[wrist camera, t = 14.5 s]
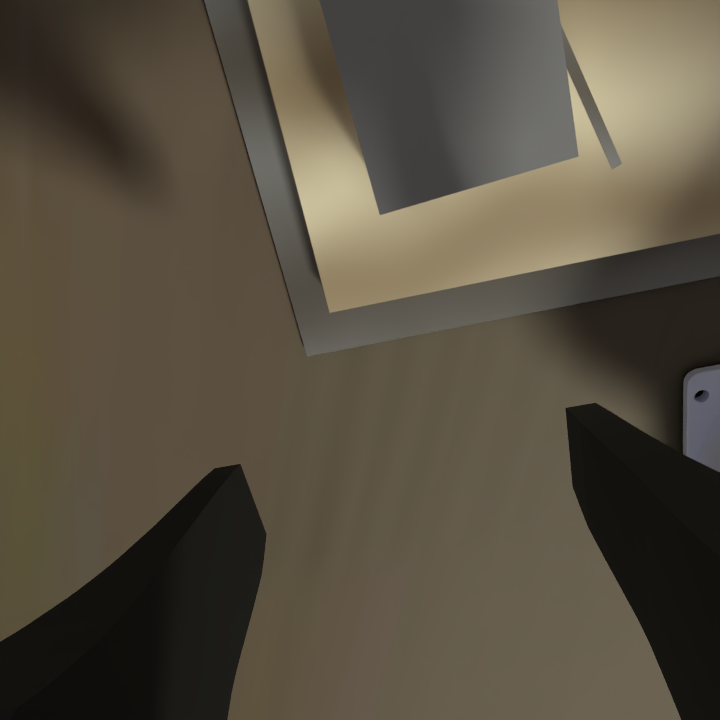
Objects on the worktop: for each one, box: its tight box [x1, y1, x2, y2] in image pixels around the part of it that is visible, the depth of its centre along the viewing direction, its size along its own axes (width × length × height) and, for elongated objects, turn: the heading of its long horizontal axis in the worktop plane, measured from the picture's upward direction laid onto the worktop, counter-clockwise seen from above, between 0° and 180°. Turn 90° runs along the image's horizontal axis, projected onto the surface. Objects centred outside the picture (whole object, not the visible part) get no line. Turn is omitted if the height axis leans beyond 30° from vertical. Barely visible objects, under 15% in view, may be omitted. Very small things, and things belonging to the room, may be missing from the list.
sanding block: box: [319, 0, 579, 215], centre depth 13 cm, size 8×4×4 cm, turn 17°
